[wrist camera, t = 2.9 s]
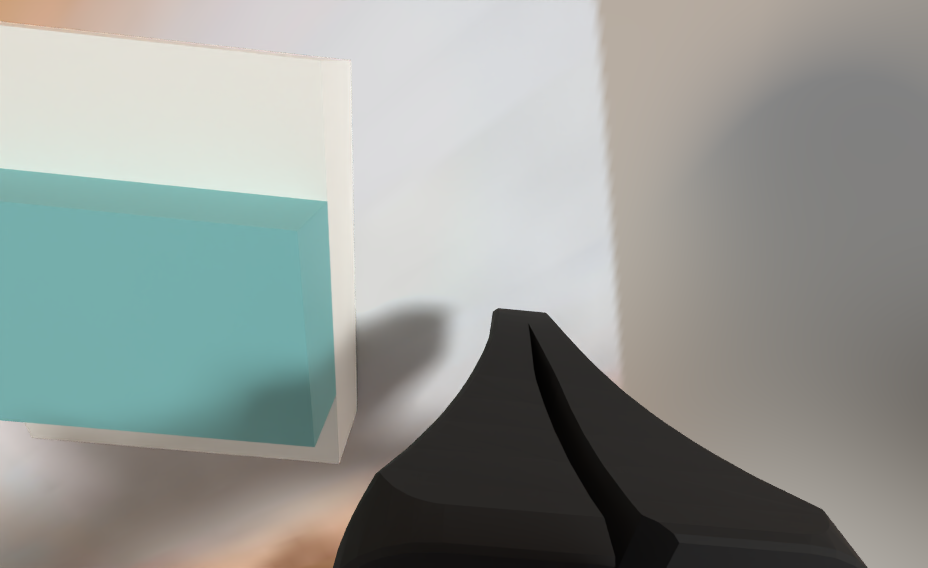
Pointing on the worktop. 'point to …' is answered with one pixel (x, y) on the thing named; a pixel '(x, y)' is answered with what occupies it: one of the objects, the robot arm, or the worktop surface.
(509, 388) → the robot arm
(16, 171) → the teal rectangular block
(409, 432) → the worktop surface
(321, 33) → the worktop surface
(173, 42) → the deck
